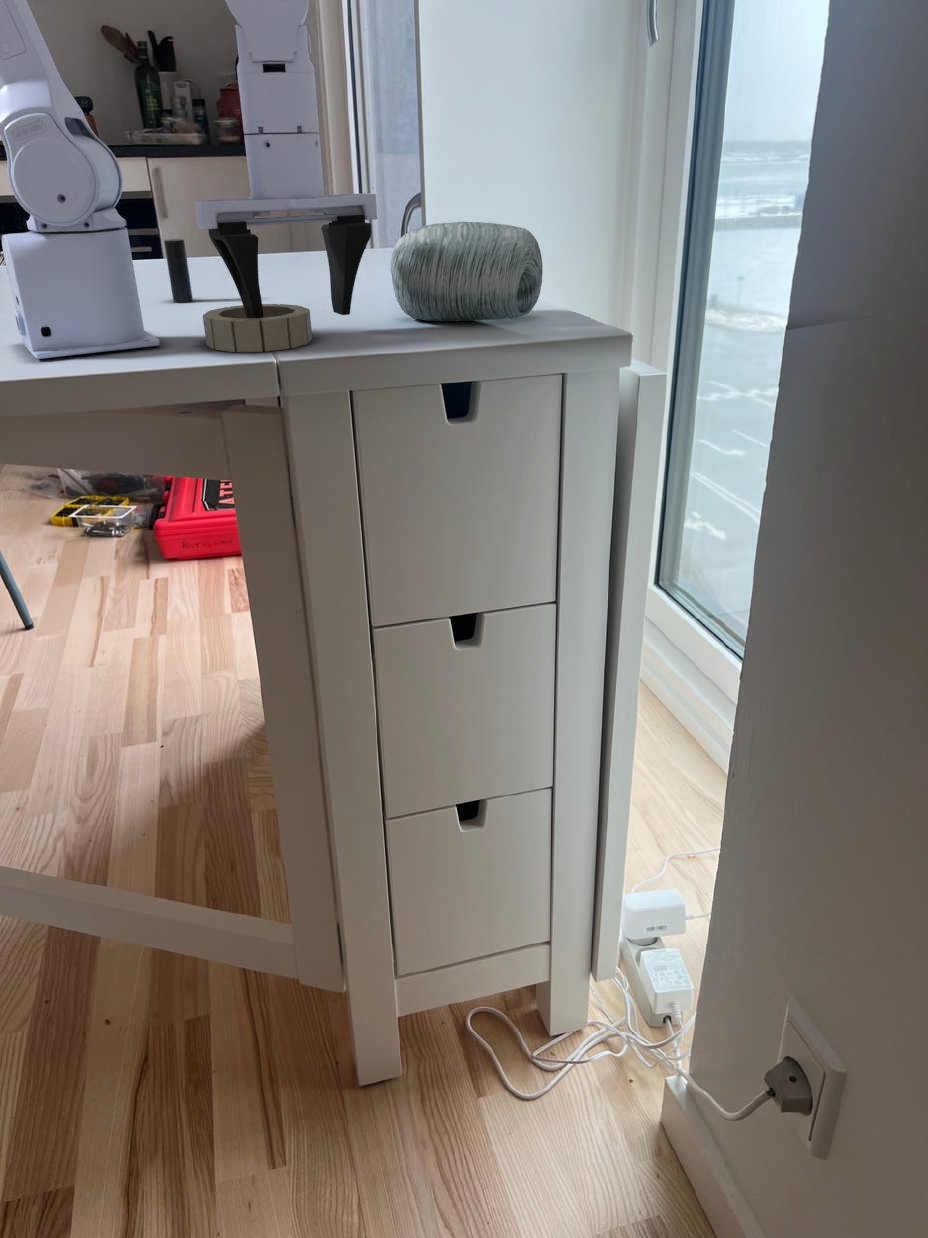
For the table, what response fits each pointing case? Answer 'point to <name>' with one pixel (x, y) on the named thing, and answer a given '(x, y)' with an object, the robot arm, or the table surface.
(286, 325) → the tape roll
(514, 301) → the spool
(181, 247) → the post
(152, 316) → the table surface
